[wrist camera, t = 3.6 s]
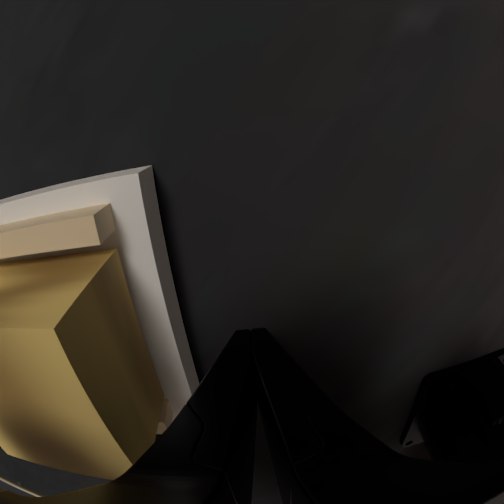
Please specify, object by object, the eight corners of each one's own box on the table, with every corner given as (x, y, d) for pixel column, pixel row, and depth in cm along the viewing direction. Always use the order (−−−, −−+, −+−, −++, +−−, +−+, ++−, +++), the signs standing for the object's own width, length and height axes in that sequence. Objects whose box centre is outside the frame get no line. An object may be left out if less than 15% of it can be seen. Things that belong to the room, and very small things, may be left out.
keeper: (117, 248, 9) (53, 329, 5) (164, 395, 11) (146, 483, 7) (-16, 265, 9) (-82, 322, 5) (42, 387, 11) (7, 454, 7)
